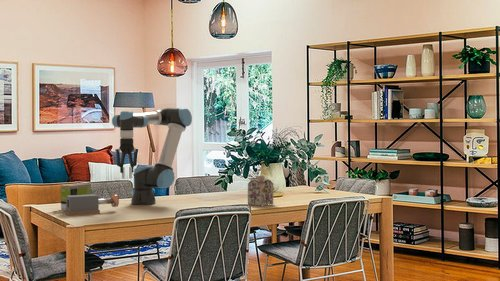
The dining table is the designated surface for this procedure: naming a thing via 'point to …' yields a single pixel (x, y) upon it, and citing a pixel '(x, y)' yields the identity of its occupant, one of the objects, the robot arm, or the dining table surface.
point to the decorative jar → (260, 191)
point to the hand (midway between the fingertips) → (126, 178)
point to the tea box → (73, 191)
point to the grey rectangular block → (110, 201)
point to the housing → (82, 205)
